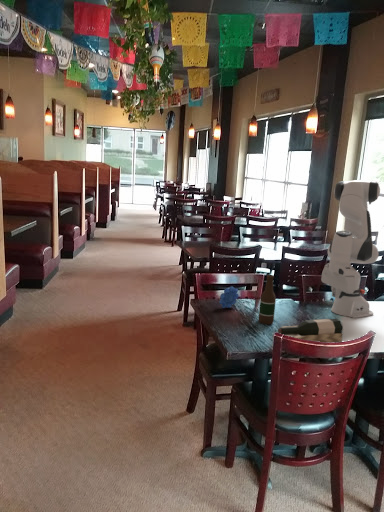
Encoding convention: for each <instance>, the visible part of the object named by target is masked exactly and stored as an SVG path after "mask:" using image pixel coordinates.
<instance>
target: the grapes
mask: <svg viewBox="0 0 384 512" xmlns="http://www.w3.org/2000/svg"><path fill="white" fill-rule="evenodd" d="M238 292H239V290H238V288H235V287H234V286H232V285H231V286H229V287H228V288H227V287H226V288H225V289H224V290H223V292H222V293H221V294H220V295H219V298H220V299H219V305H221V307H222V309H225V308H228V309H230V308H232V305H235V304H236V303H237V299H238V298H239V293H238Z"/></svg>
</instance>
